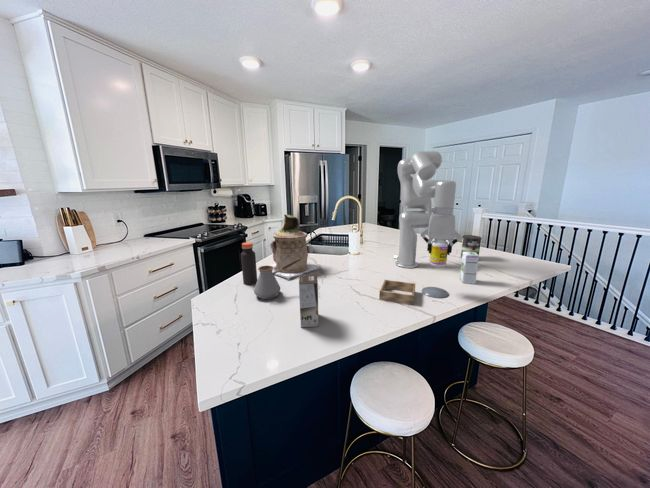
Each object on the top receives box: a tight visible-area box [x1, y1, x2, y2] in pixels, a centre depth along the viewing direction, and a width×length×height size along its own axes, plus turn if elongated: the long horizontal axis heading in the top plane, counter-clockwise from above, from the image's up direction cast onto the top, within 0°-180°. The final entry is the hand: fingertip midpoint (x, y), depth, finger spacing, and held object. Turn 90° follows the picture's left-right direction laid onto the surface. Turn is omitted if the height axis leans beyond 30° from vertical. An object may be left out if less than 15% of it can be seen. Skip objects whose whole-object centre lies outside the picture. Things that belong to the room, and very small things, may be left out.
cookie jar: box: [267, 213, 321, 281], centre depth 142 cm, size 25×25×32 cm
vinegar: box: [240, 241, 258, 286], centre depth 126 cm, size 7×7×20 cm
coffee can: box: [459, 234, 482, 260], centre depth 161 cm, size 10×10×14 cm
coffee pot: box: [253, 259, 301, 300], centre depth 113 cm, size 21×12×15 cm, turn 109°
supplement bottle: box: [429, 239, 449, 268], centre depth 110 cm, size 7×7×13 cm
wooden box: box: [378, 279, 416, 306], centre depth 111 cm, size 13×13×4 cm
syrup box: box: [459, 252, 480, 285], centre depth 125 cm, size 6×6×14 cm
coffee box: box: [298, 273, 319, 328], centre depth 91 cm, size 9×6×16 cm
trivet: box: [421, 286, 450, 299], centre depth 114 cm, size 11×11×1 cm
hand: (438, 253), depth 110 cm, fingers closed on supplement bottle, 6 cm apart
